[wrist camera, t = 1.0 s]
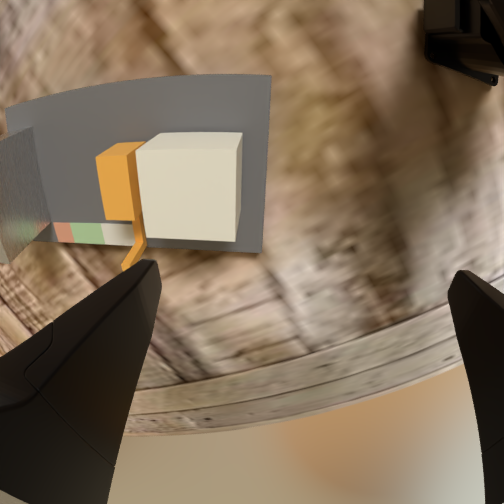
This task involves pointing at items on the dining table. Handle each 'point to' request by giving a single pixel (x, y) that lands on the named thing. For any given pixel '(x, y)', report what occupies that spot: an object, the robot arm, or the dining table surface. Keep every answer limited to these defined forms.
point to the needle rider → (123, 192)
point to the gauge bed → (121, 131)
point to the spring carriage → (191, 185)
